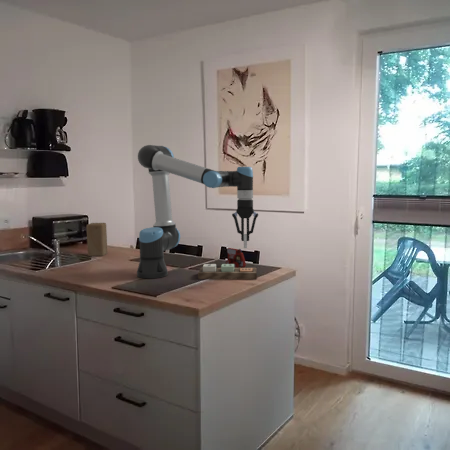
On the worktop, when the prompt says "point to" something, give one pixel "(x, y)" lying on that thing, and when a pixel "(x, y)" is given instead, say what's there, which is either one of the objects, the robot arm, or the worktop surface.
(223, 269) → the tile
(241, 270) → the tile
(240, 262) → the toy fire truck
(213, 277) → the board
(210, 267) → the tile
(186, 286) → the worktop surface
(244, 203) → the robot arm
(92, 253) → the wooden block
